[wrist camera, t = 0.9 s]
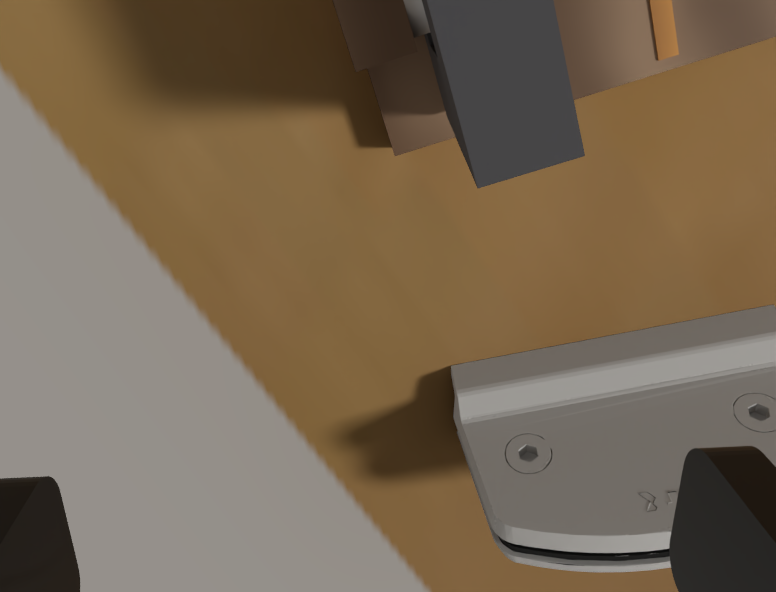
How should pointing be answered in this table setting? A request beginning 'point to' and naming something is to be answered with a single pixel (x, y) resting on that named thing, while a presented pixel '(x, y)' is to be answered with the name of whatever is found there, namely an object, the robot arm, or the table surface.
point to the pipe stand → (579, 39)
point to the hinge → (610, 434)
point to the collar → (504, 84)
